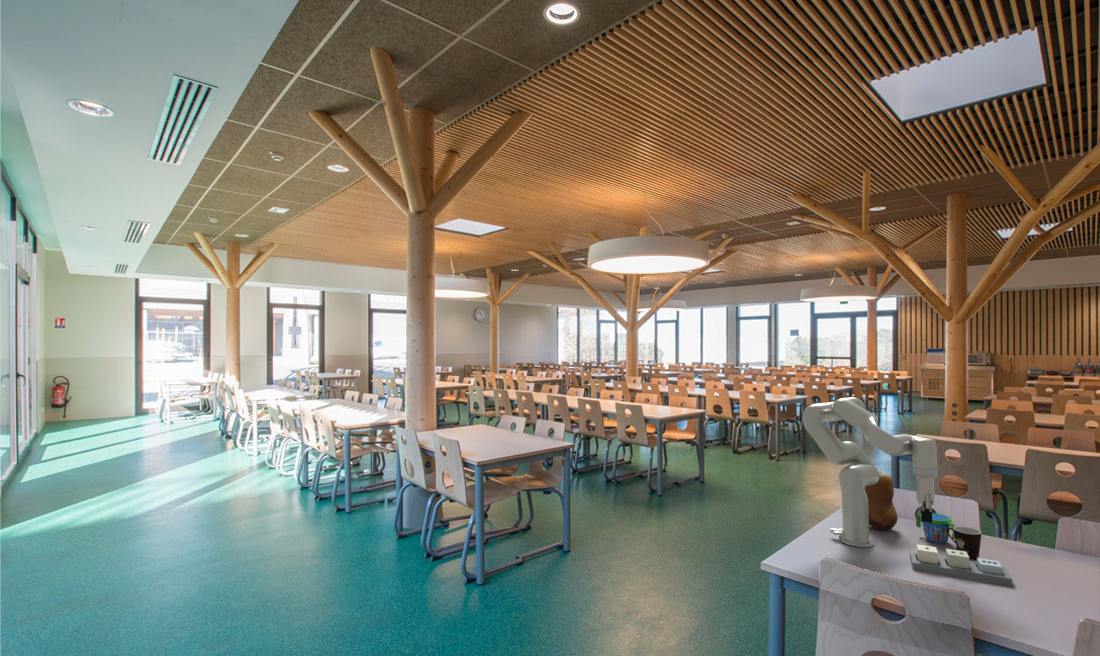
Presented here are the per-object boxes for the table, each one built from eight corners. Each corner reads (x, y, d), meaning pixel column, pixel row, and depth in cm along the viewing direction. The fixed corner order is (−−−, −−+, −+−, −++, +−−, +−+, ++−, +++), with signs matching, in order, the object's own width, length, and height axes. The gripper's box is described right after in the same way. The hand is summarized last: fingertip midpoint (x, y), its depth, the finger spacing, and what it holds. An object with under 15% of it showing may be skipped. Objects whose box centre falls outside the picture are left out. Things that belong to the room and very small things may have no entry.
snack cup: (909, 535, 227) (908, 511, 227) (929, 533, 229) (928, 509, 229) (943, 549, 211) (942, 523, 212) (965, 546, 214) (964, 521, 214)
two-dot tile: (948, 565, 191) (948, 553, 191) (946, 559, 196) (945, 548, 196) (969, 569, 188) (969, 557, 188) (966, 562, 193) (966, 551, 193)
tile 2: (980, 575, 186) (980, 563, 186) (977, 568, 191) (976, 557, 192) (1002, 579, 183) (1002, 566, 183) (998, 572, 188) (998, 560, 189)
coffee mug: (987, 561, 199) (986, 535, 200) (961, 560, 201) (960, 533, 201) (969, 549, 211) (969, 524, 211) (945, 548, 212) (944, 523, 213)
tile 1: (918, 560, 195) (918, 549, 195) (916, 554, 201) (916, 543, 201) (938, 563, 192) (938, 552, 192) (936, 558, 198) (935, 546, 198)
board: (912, 569, 194) (912, 562, 194) (909, 557, 204) (909, 551, 204) (1012, 586, 180) (1012, 578, 180) (1003, 572, 190) (1003, 565, 190)
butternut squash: (900, 528, 235) (899, 471, 236) (894, 536, 226) (892, 477, 226) (865, 521, 245) (863, 466, 246) (857, 528, 235) (856, 472, 236)
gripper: (911, 466, 206) (912, 514, 205) (914, 475, 193) (916, 525, 192) (934, 468, 202) (936, 517, 201) (940, 477, 189) (942, 529, 188)
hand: (926, 521), depth 197 cm, fingers closed
